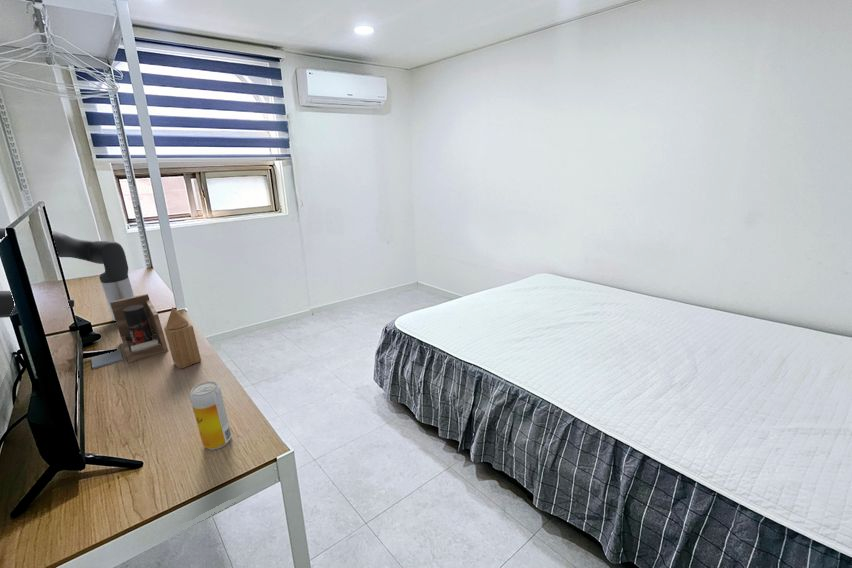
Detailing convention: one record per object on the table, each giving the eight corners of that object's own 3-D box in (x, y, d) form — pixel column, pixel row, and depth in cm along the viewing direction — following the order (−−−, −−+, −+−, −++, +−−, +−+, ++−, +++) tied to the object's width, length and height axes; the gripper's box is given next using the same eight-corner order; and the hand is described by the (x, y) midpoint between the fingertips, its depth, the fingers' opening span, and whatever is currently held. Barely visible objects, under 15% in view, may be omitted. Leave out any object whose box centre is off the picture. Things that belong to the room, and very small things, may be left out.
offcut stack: (132, 354, 136) (130, 346, 135) (159, 346, 141) (157, 338, 140) (133, 358, 133) (131, 350, 132) (161, 350, 138) (159, 342, 137)
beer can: (210, 434, 96) (196, 381, 91) (236, 432, 96) (223, 379, 91) (198, 452, 90) (183, 397, 85) (226, 450, 90) (212, 394, 85)
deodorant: (158, 342, 144) (147, 304, 139) (146, 350, 138) (134, 311, 133) (143, 342, 144) (132, 304, 140) (130, 350, 139) (118, 311, 134)
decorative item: (173, 363, 129) (157, 307, 123) (195, 355, 134) (181, 300, 127) (179, 370, 125) (164, 312, 118) (202, 361, 129) (188, 305, 123)
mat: (91, 359, 134) (91, 357, 133) (120, 351, 139) (119, 349, 138) (92, 369, 127) (92, 367, 127) (123, 360, 132) (122, 358, 132)
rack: (122, 341, 145) (109, 301, 140) (158, 332, 152) (147, 293, 147) (128, 362, 131) (114, 318, 125) (168, 350, 138) (156, 308, 132)
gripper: (-3, 294, 105) (76, 292, 118) (-10, 288, 114) (64, 287, 127) (-3, 322, 106) (76, 317, 119) (-10, 314, 114) (64, 310, 127)
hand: (70, 301), depth 123 cm, fingers open, 8 cm apart
